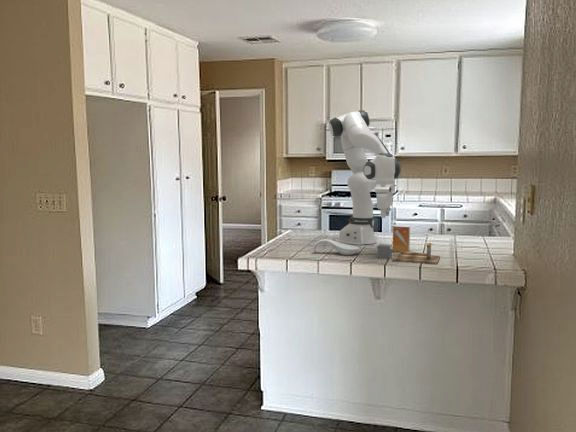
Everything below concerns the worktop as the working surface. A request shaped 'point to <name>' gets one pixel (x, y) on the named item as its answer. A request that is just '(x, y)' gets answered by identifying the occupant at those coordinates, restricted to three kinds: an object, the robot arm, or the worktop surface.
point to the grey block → (384, 251)
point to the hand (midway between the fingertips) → (385, 216)
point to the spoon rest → (339, 247)
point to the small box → (401, 238)
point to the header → (417, 257)
